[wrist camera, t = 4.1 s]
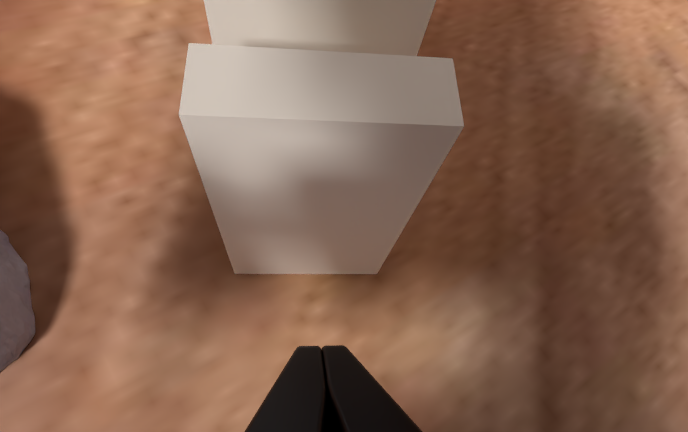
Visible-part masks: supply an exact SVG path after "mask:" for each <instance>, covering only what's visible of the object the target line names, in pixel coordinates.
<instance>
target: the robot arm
mask: <svg viewBox="0 0 688 432" xmlns="http://www.w3.org/2000/svg"><path fill="white" fill-rule="evenodd" d="M245 432H422V431H421V430H420V429H419V427H418V426H417V425H416V424H415V423H414V422H413V421H412V420H411V419H410V417H409V416H408V415H407V414H406V413H405V412H404V411H403V410H402V409H401V407H400V406H399V405H398V404H397V403H396V402H395V401H394V400H393V399H392V397H391V396H390V395H389V394H388V393H387V392H386V391H385V390H384V389H383V387H382V386H381V385H380V384H379V383H378V382H377V381H376V380H375V379H374V377H373V376H372V375H371V374H370V373H369V372H368V371H367V370H366V369H365V367H364V366H363V365H362V364H361V363H360V362H359V361H358V360H357V359H356V357H355V356H354V355H353V354H352V353H351V352H350V351H349V350H348V349H347V348H346V347H345V346H342V345H339V346H324V347H322V350H321V348H320V347H319V346H299V347H297V348H296V350H295V351H294V353H293V355H292V356H291V358H290V359H289V361H288V363H287V364H286V366H285V367H284V369H283V371H282V372H281V374H280V376H279V377H278V379H277V380H276V382H275V384H274V385H273V387H272V388H271V390H270V392H269V393H268V395H267V396H266V398H265V400H264V401H263V403H262V405H261V406H260V408H259V409H258V411H257V413H256V414H255V416H254V417H253V419H252V421H251V422H250V424H249V425H248V427H247V429H246V430H245Z"/></svg>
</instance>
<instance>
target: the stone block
mask: <svg viewBox="0 0 688 432" xmlns="http://www.w3.org/2000/svg"><path fill="white" fill-rule="evenodd" d="M34 334H35V316H34V313H33V310H32V302H31V293H30V279H29V276H28V268H27V264H26V263H25V262H24V261H23V260H22V259H21V257H20V256H19V255H18V253H17V252H16V251H15V250H14V248H13V247H12V245H11V244H10V242H9V237H8V236H7V235H6V234H5V233H4V232H3V231H1V230H0V372H1V371H2V370H3V369H4V368H6V367H7V366H8V365H9V364H11V363H12V362H13V361H14V360H16V359H17V358H18V357H19V356H20V355H21V353H22V352H23V350H24V348H25V347H26V346H27V345H28V344H29V342H30V341H31V340H32V338H33V336H34Z"/></svg>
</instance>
